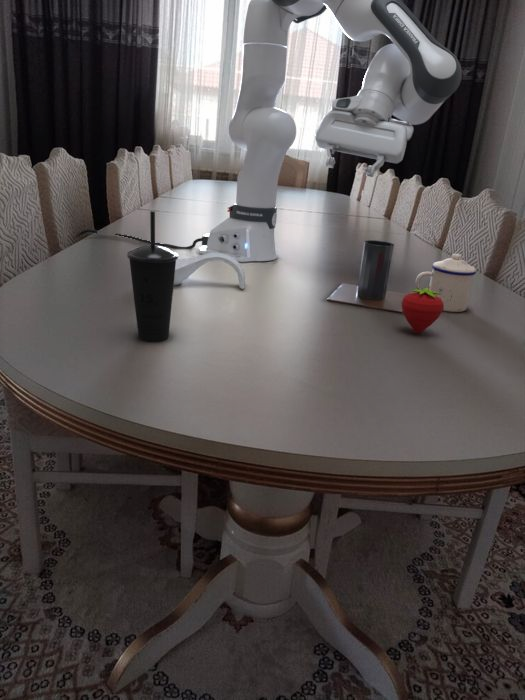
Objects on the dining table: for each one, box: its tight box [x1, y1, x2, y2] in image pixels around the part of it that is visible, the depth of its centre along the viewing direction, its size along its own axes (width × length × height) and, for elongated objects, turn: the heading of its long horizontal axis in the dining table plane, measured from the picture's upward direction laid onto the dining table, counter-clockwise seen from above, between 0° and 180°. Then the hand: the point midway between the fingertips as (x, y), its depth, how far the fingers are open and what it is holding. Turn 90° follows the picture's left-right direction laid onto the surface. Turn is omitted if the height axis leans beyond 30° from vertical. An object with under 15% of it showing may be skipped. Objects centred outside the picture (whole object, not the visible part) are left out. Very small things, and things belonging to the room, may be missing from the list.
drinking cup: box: [126, 211, 179, 343], centre depth 81 cm, size 8×8×20 cm
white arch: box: [174, 253, 246, 290], centre depth 116 cm, size 24×12×7 cm, turn 91°
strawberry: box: [401, 280, 444, 334], centre depth 95 cm, size 6×8×10 cm
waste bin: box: [357, 239, 395, 300], centre depth 115 cm, size 6×6×12 cm
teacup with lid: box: [415, 253, 477, 313], centre depth 113 cm, size 12×9×12 cm
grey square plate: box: [326, 283, 409, 314], centre depth 117 cm, size 16×16×1 cm
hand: (348, 170), depth 115 cm, fingers open, 8 cm apart
